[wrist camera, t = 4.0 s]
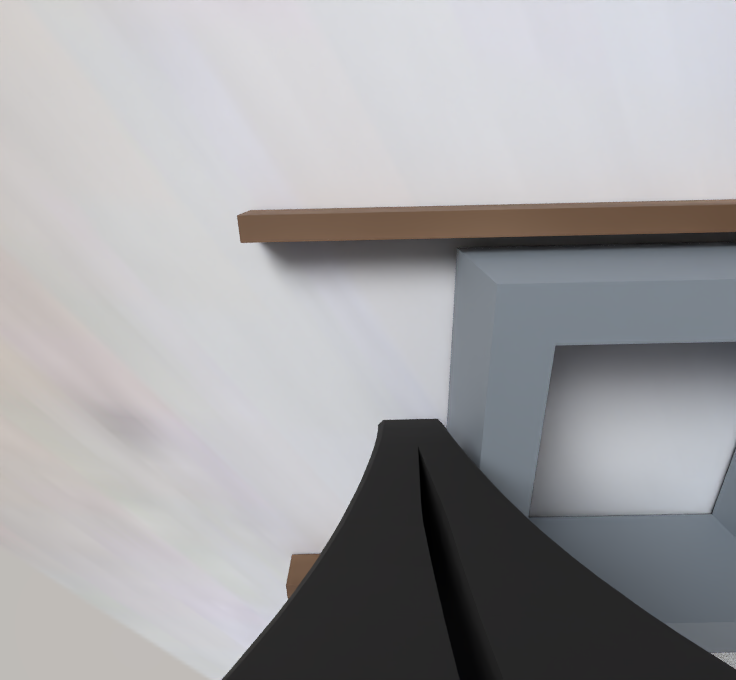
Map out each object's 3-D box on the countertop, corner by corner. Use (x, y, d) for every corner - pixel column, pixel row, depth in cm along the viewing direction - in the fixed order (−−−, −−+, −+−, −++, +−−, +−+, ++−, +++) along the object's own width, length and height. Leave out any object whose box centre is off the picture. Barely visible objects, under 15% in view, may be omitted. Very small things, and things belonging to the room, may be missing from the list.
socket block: (737, 540, 12) (846, 650, 9) (440, 546, 12) (461, 656, 10) (860, 238, 9) (1079, 271, 6) (457, 247, 9) (497, 284, 6)
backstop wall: (789, 579, 13) (1023, 809, 8) (296, 588, 13) (257, 820, 8) (1003, 146, 8) (1775, 121, 4) (244, 163, 9) (99, 160, 4)
